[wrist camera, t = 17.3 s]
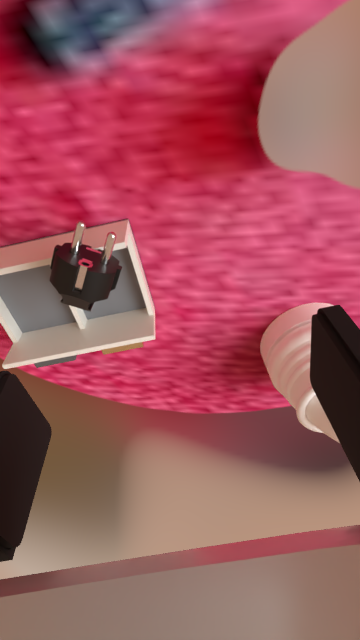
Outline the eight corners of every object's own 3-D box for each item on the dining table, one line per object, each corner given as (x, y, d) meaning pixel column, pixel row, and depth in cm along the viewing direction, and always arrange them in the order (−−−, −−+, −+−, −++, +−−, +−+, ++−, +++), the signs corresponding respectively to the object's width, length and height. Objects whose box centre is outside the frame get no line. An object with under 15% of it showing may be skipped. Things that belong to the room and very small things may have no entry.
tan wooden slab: (104, 327, 45) (100, 347, 41) (141, 319, 44) (140, 339, 41) (107, 334, 45) (103, 354, 42) (143, 326, 45) (143, 346, 42)
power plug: (70, 262, 39) (34, 310, 28) (86, 195, 35) (52, 222, 25) (118, 278, 40) (102, 330, 29) (138, 215, 36) (127, 249, 26)
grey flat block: (41, 340, 45) (32, 360, 42) (77, 332, 45) (71, 352, 42) (44, 346, 46) (36, 367, 43) (80, 339, 45) (75, 360, 42)
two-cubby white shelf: (-30, 253, 38) (-58, 281, 33) (128, 218, 36) (124, 241, 31) (21, 335, 44) (4, 369, 39) (154, 308, 43) (155, 339, 38)
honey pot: (265, 305, 44) (320, 420, 30) (362, 299, 45) (464, 409, 30) (255, 376, 52) (296, 495, 37) (339, 370, 52) (411, 486, 38)
